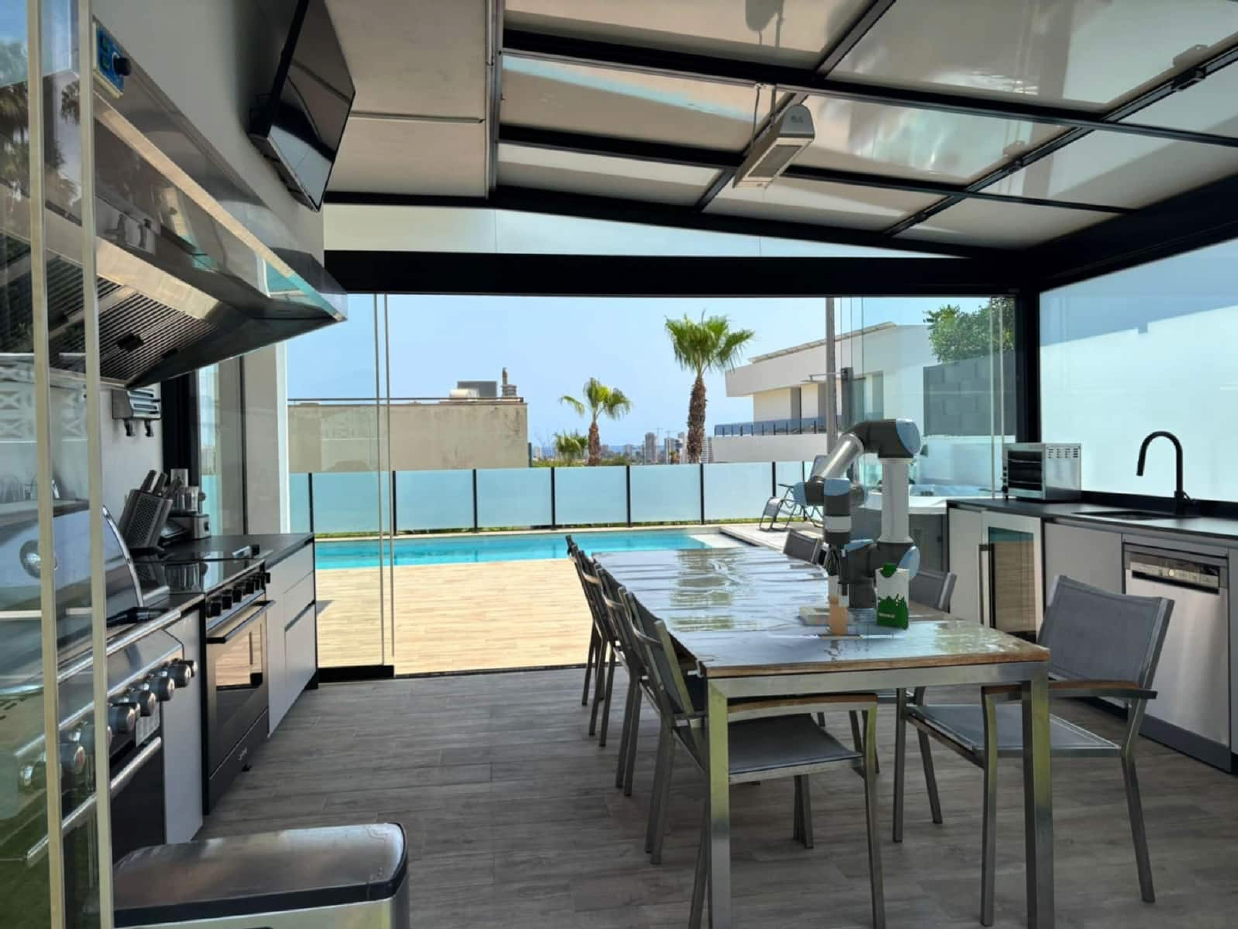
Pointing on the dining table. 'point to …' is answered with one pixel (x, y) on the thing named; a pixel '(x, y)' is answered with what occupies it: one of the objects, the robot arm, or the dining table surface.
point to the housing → (819, 615)
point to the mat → (840, 637)
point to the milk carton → (892, 596)
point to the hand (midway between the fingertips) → (838, 602)
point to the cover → (837, 617)
